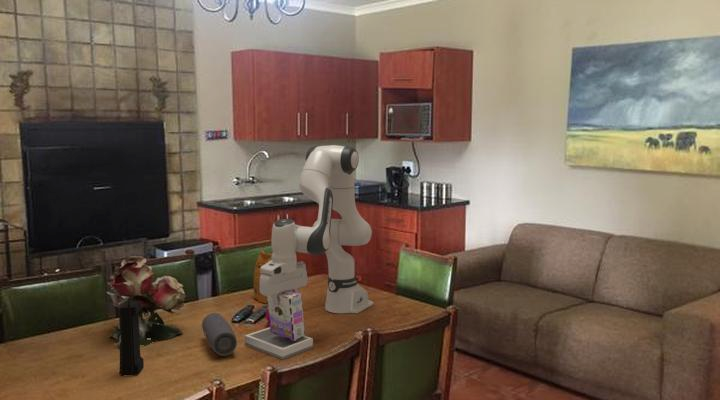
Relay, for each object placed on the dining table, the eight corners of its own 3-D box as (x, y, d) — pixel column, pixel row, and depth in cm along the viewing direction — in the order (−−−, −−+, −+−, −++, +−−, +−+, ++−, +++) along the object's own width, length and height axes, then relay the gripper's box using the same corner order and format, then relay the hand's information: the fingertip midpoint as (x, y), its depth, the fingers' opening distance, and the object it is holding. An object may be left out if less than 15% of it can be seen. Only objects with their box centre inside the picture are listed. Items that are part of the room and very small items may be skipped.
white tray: (275, 334, 232) (275, 325, 232) (312, 347, 219) (312, 338, 219) (244, 344, 222) (244, 335, 221) (282, 359, 208) (282, 349, 208)
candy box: (306, 336, 220) (302, 293, 217) (293, 342, 216) (289, 298, 213) (282, 327, 230) (278, 285, 226) (269, 332, 226) (265, 290, 222)
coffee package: (270, 294, 284) (269, 248, 281) (283, 301, 274) (282, 253, 271) (250, 298, 279) (249, 250, 276) (263, 305, 269) (262, 255, 266)
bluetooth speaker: (200, 338, 228) (199, 312, 226) (225, 335, 231) (225, 309, 230) (211, 361, 207) (210, 332, 206) (238, 357, 211) (238, 329, 209)
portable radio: (126, 366, 202) (122, 292, 199) (144, 365, 203) (141, 292, 199) (118, 376, 194) (114, 300, 191) (138, 375, 195) (134, 299, 192)
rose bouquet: (195, 331, 235) (193, 255, 231) (123, 352, 214) (119, 268, 210) (160, 316, 252) (157, 245, 248) (90, 335, 231) (85, 257, 227)
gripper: (299, 258, 228) (299, 295, 230) (256, 268, 213) (256, 307, 215) (311, 261, 224) (311, 298, 226) (268, 271, 209) (268, 310, 211)
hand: (284, 302), depth 220 cm, fingers open, 6 cm apart
